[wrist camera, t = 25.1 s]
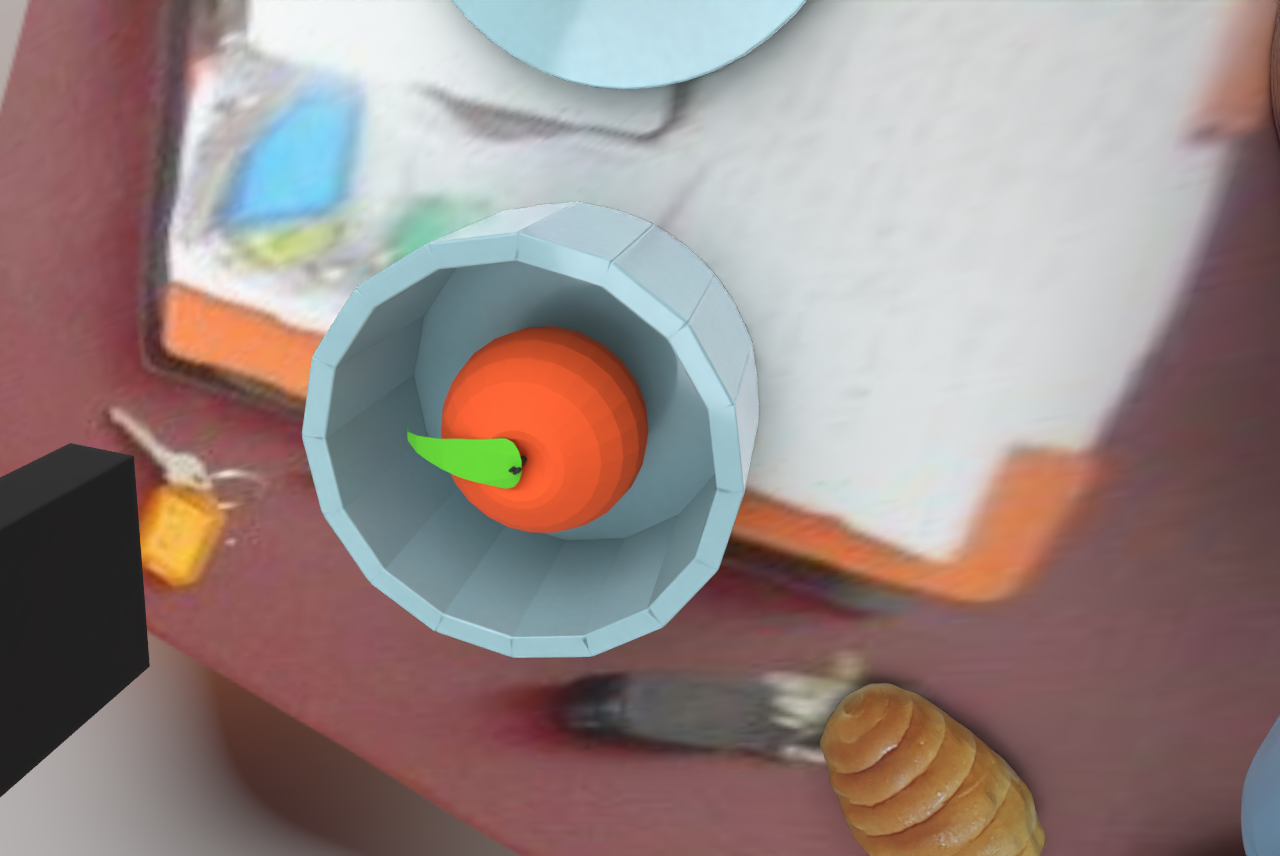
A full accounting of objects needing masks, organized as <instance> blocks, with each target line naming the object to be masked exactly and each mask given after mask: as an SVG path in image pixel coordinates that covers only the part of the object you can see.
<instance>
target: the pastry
mask: <svg viewBox="0 0 1280 856" xmlns="http://www.w3.org/2000/svg"><path fill="white" fill-rule="evenodd" d="M820 747H821V749H822V751H823V754H824V758H825V760H826V762H827V765H828V769H829V777H830V785H831V786H832V788H833V789H834V791H835V792H836V794H837V796H838V798H839V802H840V806H841V809H842V812H843V814H844V816H845V818H846V820H847V821H848V826H849V829H850V831H851V832H852V835H853V837H854V839H855V840H856V841H857V842H858V843H859V845H860V846H861V847H862V848H863V849H864V850H865V851H866V852H867V853H868V855H869V856H1040V854H1041V852H1042V849H1043V847H1044V845H1045V833H1044V830H1043V828H1042V825H1041V823H1040V821H1039V818H1038V816H1037V814H1036V811H1035V805H1034V801H1033V797H1032V794H1031V792H1030V790H1029V789H1028V787H1027V786H1026V784H1025V783H1024V782H1023V781H1022V780H1021V779H1020V778H1019V777H1018V775H1017V774H1016V773H1015V772H1014V771H1013V769H1012V768H1011V767H1010V766H1009V765H1008V764H1007V762H1006V761H1005V760H1004V759H1003V758H1002V757H1001V756H999V755H998V754H997V753H995V752H994V751H993V750H991V749H990V748H989V747H988V746H987V745H986V744H985V743H984V742H983V741H982V740H980V739H979V738H978V737H977V736H976V735H974V734H973V733H972V732H971V731H970V730H968V729H967V728H966V727H964V726H963V725H962V724H960V723H958V722H957V721H955V720H954V719H953V718H951V717H950V716H948V714H947V713H945V712H944V711H942V710H941V709H940V708H938V707H937V706H936V705H934V704H933V703H931V702H930V701H928V700H926V699H925V698H923V697H922V696H921V695H919V694H917V693H914V692H911V691H908V690H905V689H902V688H899V687H897V686H895V685H892V684H889V683H878V684H869V685H867V686H865V687H863V688H861V689H859V690H856V691H854V692H852V693H850V694H849V695H847V696H846V697H844V698H843V699H842V700H841V701H840V703H839V704H838V706H837V707H836V709H835V710H834V712H833V713H832V714H831V716H830V717H829V719H828V721H827V724H826V726H825V729H824V732H823V735H822V738H821V741H820Z"/></svg>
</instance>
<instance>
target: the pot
mask: <svg viewBox="0 0 1280 856" xmlns="http://www.w3.org/2000/svg"><path fill="white" fill-rule="evenodd" d="M545 326H555V327H560V328H564V329H569V330H574V331H578V332H580V333H582V334H584V335H586V336H588V337H590V338H592V339H594V340H596V341H598V342H600V343H602V344H603V345H605V346H606V347H607V348H608V349H609V350H610V351H612V352H613V353H614V354H615V355H616V356H617V357H619V358H620V359H621V360H622V361H623V362H624V364H625V365H626V367H627V368H628V369H629V371H630V372H631V374H632V375H633V377H634V378H635V379H636V381H637V383H638V385H639V388H640V391H641V393H642V396H643V398H644V401H645V404H646V409H647V419H648V430H649V431H648V439H647V445H646V450H645V456H644V461H643V465H642V467H641V469H640V471H639V473H638V475H637V477H636V479H635V481H634V483H633V485H632V487H631V488H630V489H629V490H628V491H627V492H626V493H625V494H624V495H623V497H622V498H621V499H620V500H619V501H618V502H617V503H616V504H615V505H614V506H613V507H612V508H611V509H610V510H609V511H608V512H607V513H606V514H604V515H602V516H601V517H599V518H597V519H595V520H594V521H592V522H590V523H589V524H587V525H583V526H580V527H576V528H572V529H568V530H565V531H560V532H555V533H530V532H526V531H522V530H518V529H514V528H510V527H507V526H505V525H503V524H501V523H499V522H497V521H495V520H493V519H491V518H489V517H487V516H486V515H485V514H484V513H482V512H481V511H480V510H479V509H478V508H476V507H475V506H474V505H473V504H472V503H470V502H469V501H468V499H467V498H466V497H465V495H464V494H463V493H462V492H461V490H460V489H459V488H458V486H457V485H456V484H455V482H454V480H453V478H452V475H451V473H449V472H447V471H444V470H442V469H441V468H439V467H437V466H436V465H434V464H432V463H430V462H429V461H427V460H426V459H425V458H423V457H422V456H420V455H419V454H418V453H417V452H416V451H415V450H414V448H413V447H412V446H411V444H410V443H409V442H408V438H407V426H406V425H408V431H409V432H410V433H413V434H415V435H418V436H424V437H431V438H439V439H441V423H442V412H443V404H444V402H445V399H446V396H447V394H448V391H449V389H450V386H451V384H452V382H453V380H454V379H455V377H456V376H457V374H458V373H459V372H460V370H461V369H462V368H463V366H464V365H465V364H466V363H467V361H468V360H469V359H470V358H471V356H472V355H473V354H474V353H475V352H476V351H478V350H479V349H481V348H482V347H484V346H485V345H486V344H488V343H489V342H491V341H492V340H494V339H495V338H498V337H501V336H504V335H507V334H510V333H512V332H515V331H518V330H521V329H524V328H527V327H545ZM759 415H760V411H759V401H758V381H757V370H756V364H755V358H754V350H753V342H752V341H751V338H750V336H749V334H748V332H747V329H746V326H745V324H744V322H743V320H742V318H741V315H740V313H739V311H738V309H737V307H736V305H735V303H734V302H733V300H732V298H731V297H730V295H729V294H728V292H727V290H726V289H725V287H724V286H723V284H722V283H721V282H720V280H719V279H718V278H717V276H716V275H715V274H714V273H713V272H712V271H711V270H710V268H709V267H708V266H707V265H706V264H705V263H704V262H703V261H702V260H701V259H700V258H699V257H698V256H697V255H696V254H695V253H693V252H692V251H691V250H690V249H689V248H688V247H687V246H686V245H684V244H683V243H681V242H680V241H679V240H677V239H676V238H674V237H673V236H672V235H670V234H669V233H667V232H666V231H664V230H662V229H660V228H658V227H657V226H655V225H653V223H650V222H647V221H645V220H643V219H641V218H638V217H635V216H633V215H630V214H627V213H625V212H622V211H619V210H615V209H610V208H606V207H602V206H597V205H591V204H586V203H583V202H568V203H551V204H541V205H536V206H531V207H526V208H518V209H510V210H505V211H501V212H499V213H497V214H494V215H492V216H490V217H487V218H485V219H483V220H480V221H478V222H476V223H473V224H471V225H469V226H466V227H464V228H462V229H459V230H457V231H455V232H452V233H450V234H448V235H445V236H443V237H441V238H438V239H436V240H434V241H431V242H429V243H426V244H425V245H423V246H421V247H420V248H418V249H417V250H415V251H413V252H412V253H410V254H408V255H407V256H405V257H404V258H402V259H400V260H399V261H397V262H395V263H394V264H392V265H391V266H389V267H387V268H386V269H384V270H382V271H381V272H379V273H378V274H376V275H374V276H373V277H371V278H370V279H368V280H366V281H365V282H363V283H361V284H360V285H358V287H357V288H356V289H354V291H353V292H352V294H351V295H350V297H349V299H348V300H347V302H346V303H345V305H344V306H343V308H342V310H341V311H340V313H339V314H338V316H337V318H336V319H335V321H334V322H333V324H332V325H331V327H330V329H329V330H328V332H327V333H326V335H325V337H324V338H323V340H322V341H321V343H320V344H319V346H318V348H317V349H316V351H315V352H314V355H313V357H312V361H311V369H310V376H309V384H308V392H307V399H306V407H305V414H304V422H303V430H302V435H303V436H302V439H303V443H304V446H305V450H306V454H307V458H308V462H309V465H310V469H311V473H312V477H313V481H314V484H315V488H316V492H317V496H318V500H319V503H320V507H321V511H322V513H323V514H324V517H325V519H326V520H327V522H328V523H329V525H330V526H331V527H332V529H333V530H334V532H335V533H336V535H337V536H338V538H339V539H340V540H341V542H342V543H343V545H344V546H345V548H346V549H347V551H348V552H349V554H350V555H351V556H352V558H353V559H354V561H355V562H356V564H357V565H358V567H359V568H360V569H361V571H362V572H363V574H364V575H365V577H366V578H367V580H368V581H370V583H371V584H372V585H373V586H375V587H376V588H377V589H379V590H380V591H381V592H383V593H384V594H385V595H387V596H388V597H389V598H391V599H392V600H393V601H395V602H396V603H397V604H399V605H400V606H401V607H403V608H404V609H405V610H407V611H408V612H409V613H411V614H412V615H413V616H415V617H416V618H417V619H419V620H420V621H421V622H423V623H424V624H425V625H427V626H428V627H429V628H430V629H432V630H433V631H436V632H438V633H441V634H444V635H447V636H450V637H453V638H456V639H459V640H462V641H465V642H468V643H471V644H473V645H476V646H479V647H482V648H485V649H488V650H491V651H494V652H497V653H500V654H503V655H506V656H509V657H513V658H544V657H591V656H595V655H597V654H600V653H602V652H605V651H607V650H610V649H612V648H614V647H617V646H619V645H622V644H624V643H627V642H629V641H632V640H634V639H636V638H639V637H641V636H644V635H646V634H649V633H651V632H653V631H656V630H658V629H661V628H663V627H664V626H665V625H666V624H667V623H668V622H669V621H670V620H671V619H672V618H673V617H674V616H675V615H676V614H677V613H678V612H679V611H680V610H681V609H682V608H683V607H684V606H685V605H686V604H687V603H688V601H689V600H690V599H691V598H692V597H693V596H694V595H695V594H696V593H697V592H698V591H699V590H700V589H701V588H702V587H703V586H704V585H705V584H706V583H707V582H708V581H709V580H710V579H711V578H712V576H713V575H714V574H715V573H716V572H717V570H718V569H719V567H720V564H721V561H722V558H723V556H724V553H725V550H726V547H727V544H728V541H729V538H730V535H731V532H732V529H733V526H734V523H735V520H736V517H737V514H738V511H739V508H740V505H741V502H742V499H743V496H744V492H745V487H746V482H747V477H748V472H749V467H750V462H751V457H752V452H753V447H754V442H755V436H756V431H757V426H758V421H759Z"/></svg>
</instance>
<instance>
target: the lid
mask: <svg viewBox="0 0 1280 856" xmlns="http://www.w3.org/2000/svg"><path fill="white" fill-rule="evenodd" d="M807 1H808V0H452V2H453V3H454V4H455V5H456V6H457V8H458V9H459V10H460V11H461V12H462V13H463V15H464V16H465V17H466V18H467V19H468V20H469V21H470V22H471V23H472V24H473V25H474V26H475V27H476V28H478V29H479V30H480V31H481V32H482V33H483V34H484V35H485V36H486V37H487V38H488V39H489V40H491V41H492V42H494V43H495V44H496V45H498V46H499V47H501V48H502V49H503V50H505V51H506V52H508V53H509V54H510V55H512V56H513V57H515V58H517V59H519V60H520V61H522V62H524V63H526V64H528V65H530V66H532V67H534V68H536V69H537V70H539V71H541V72H544V73H547V74H550V75H552V76H555V77H558V78H561V79H563V80H566V81H569V82H574V83H579V84H583V85H588V86H593V87H597V88H612V89H626V90H628V89H641V88H655V87H662V86H667V85H671V84H676V83H681V82H685V81H689V80H692V79H695V78H697V77H700V76H703V75H706V74H708V73H711V72H714V71H717V70H719V69H720V68H722V67H724V66H726V65H728V64H730V63H732V62H734V61H736V60H738V59H739V58H741V57H743V56H745V55H746V54H748V53H749V52H751V51H752V50H754V49H755V48H756V47H758V46H759V45H761V44H762V43H763V42H765V41H766V40H768V39H769V38H771V37H772V36H773V35H774V34H775V33H776V32H777V31H778V30H779V29H781V28H782V27H783V26H784V25H785V24H786V23H787V22H788V21H789V20H790V19H791V18H793V17H794V16H795V15H796V14H797V13H798V11H799V10H800V9H801V8H802V7H803V6H804V4H805V3H806V2H807Z"/></svg>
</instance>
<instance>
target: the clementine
mask: <svg viewBox="0 0 1280 856" xmlns="http://www.w3.org/2000/svg"><path fill="white" fill-rule="evenodd" d="M406 426H407V438H408V442H409V443H410V444H411V446H412V447H413V448H414V450H415V451H416V452H417V453H418V454H419V455H420V456H422V457H423V458H425V459H426V460H427V461H429V462H430V463H432V464H434V465H436V466H437V467H439V468H441V469H442V470H444V471H447V472H449V473H451V475H452V478H453V480H454V482H455V484H456V485H457V486H458V488H459V489H460V490H461V492H462V493H463V494H464V495H465V497H466V498H467V499H468V501H469V502H470V503H472V504H473V505H474V506H475V507H476V508H478V509H479V510H480V511H481V512H482V513H484V514H485V515H486V516H487V517H489V518H491V519H493V520H495V521H497V522H499V523H501V524H503V525H505V526H507V527H510V528H514V529H518V530H522V531H526V532H530V533H555V532H560V531H565V530H568V529H572V528H576V527H580V526H583V525H587V524H589V523H590V522H592V521H594V520H595V519H597V518H599V517H601V516H602V515H604V514H606V513H607V512H608V511H609V510H610V509H611V508H612V507H613V506H614V505H615V504H616V503H617V502H618V501H619V500H620V499H621V498H622V497H623V495H624V494H625V493H626V492H627V491H628V490H629V489H630V488H631V487H632V485H633V483H634V481H635V479H636V477H637V475H638V473H639V471H640V469H641V467H642V465H643V461H644V456H645V450H646V445H647V439H648V431H649V430H648V419H647V409H646V404H645V401H644V398H643V396H642V393H641V391H640V388H639V385H638V383H637V381H636V379H635V378H634V377H633V375H632V374H631V372H630V371H629V369H628V368H627V367H626V365H625V364H624V362H623V361H622V360H621V359H620V358H619V357H617V356H616V355H615V354H614V353H613V352H612V351H610V350H609V349H608V348H607V347H606V346H605V345H603V344H602V343H600V342H598V341H596V340H594V339H592V338H590V337H588V336H586V335H584V334H582V333H580V332H578V331H574V330H569V329H564V328H560V327H555V326H545V327H527V328H524V329H521V330H518V331H515V332H512V333H510V334H507V335H504V336H501V337H498V338H495V339H494V340H492V341H491V342H489V343H488V344H486V345H485V346H484V347H482V348H481V349H479V350H478V351H476V352H475V353H474V354H473V355H472V356H471V358H470V359H469V360H468V361H467V363H466V364H465V365H464V366H463V368H462V369H461V370H460V372H459V373H458V374H457V376H456V377H455V379H454V380H453V382H452V384H451V386H450V389H449V391H448V394H447V396H446V399H445V402H444V404H443V412H442V423H441V439H439V438H431V437H424V436H418V435H415V434H413V433H410V432H409V431H408V425H406Z"/></svg>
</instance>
